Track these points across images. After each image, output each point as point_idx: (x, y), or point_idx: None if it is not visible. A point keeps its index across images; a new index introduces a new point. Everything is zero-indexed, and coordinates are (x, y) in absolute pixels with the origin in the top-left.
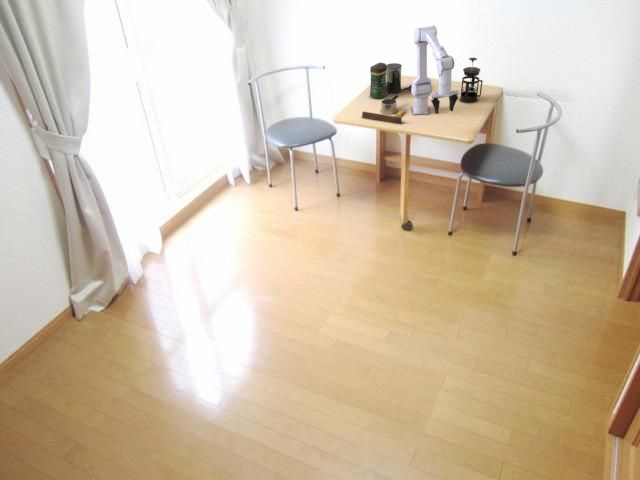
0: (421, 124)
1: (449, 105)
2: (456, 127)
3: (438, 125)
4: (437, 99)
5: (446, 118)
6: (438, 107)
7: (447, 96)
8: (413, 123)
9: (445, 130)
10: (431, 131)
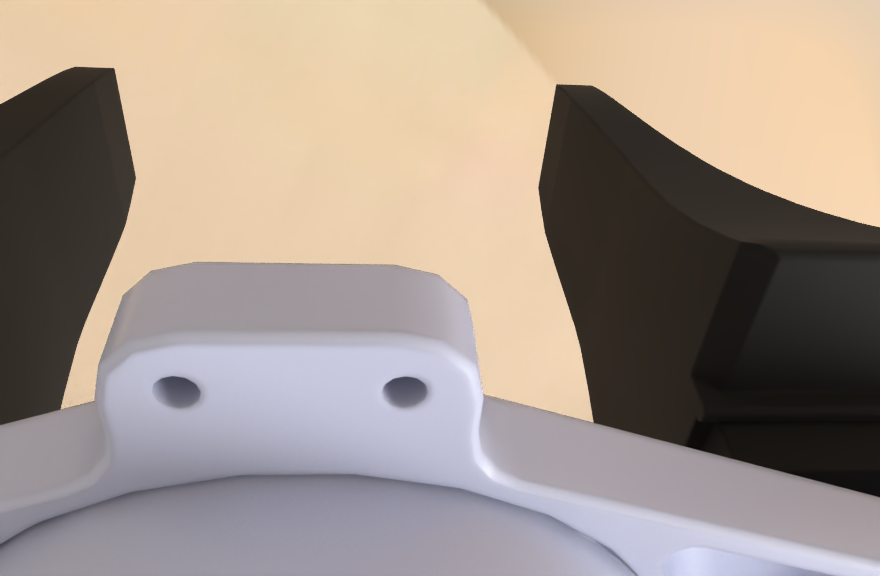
0: (497, 339)
1: (101, 282)
2: (29, 41)
3: (292, 226)
4: (748, 412)
5: (86, 367)
6: (633, 158)
7: (391, 273)
8: (571, 396)
9: (265, 20)
10: (496, 89)
